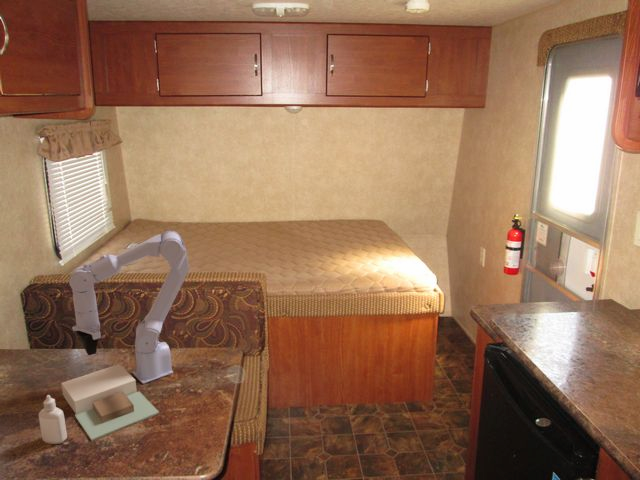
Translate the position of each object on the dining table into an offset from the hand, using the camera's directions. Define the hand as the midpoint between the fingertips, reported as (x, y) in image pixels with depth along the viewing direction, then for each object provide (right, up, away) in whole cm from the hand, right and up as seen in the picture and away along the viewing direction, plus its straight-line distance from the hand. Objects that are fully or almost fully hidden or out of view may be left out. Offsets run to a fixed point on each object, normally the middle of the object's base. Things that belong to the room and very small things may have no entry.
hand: (91, 353), depth 144 cm
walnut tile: (+11, -12, -11) cm, 20 cm away
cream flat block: (+4, -11, -3) cm, 12 cm away
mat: (+12, -13, -13) cm, 22 cm away
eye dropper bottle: (+1, -16, -22) cm, 27 cm away
